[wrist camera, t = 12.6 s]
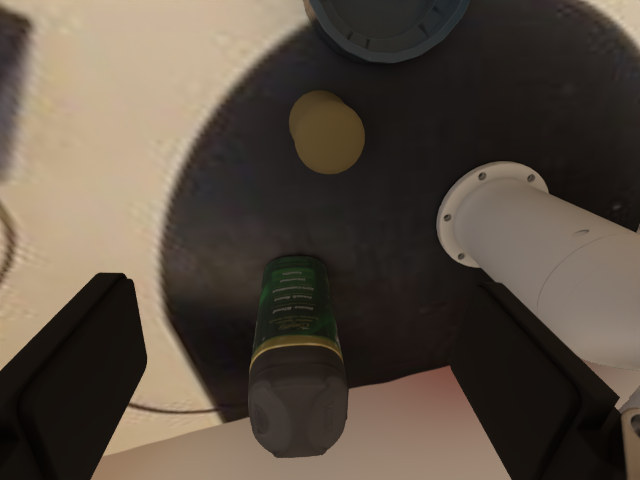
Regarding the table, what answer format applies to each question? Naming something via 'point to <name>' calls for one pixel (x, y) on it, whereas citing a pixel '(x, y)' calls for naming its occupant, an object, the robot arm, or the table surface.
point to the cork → (326, 132)
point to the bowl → (383, 27)
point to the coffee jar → (296, 362)
